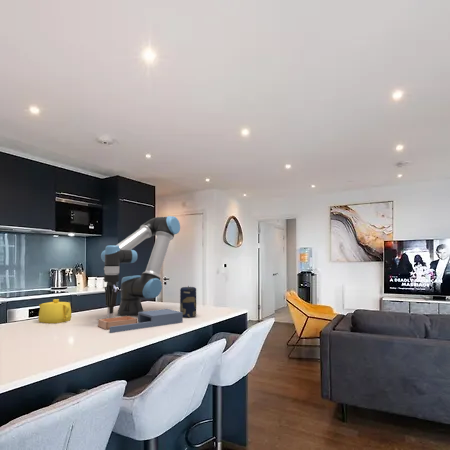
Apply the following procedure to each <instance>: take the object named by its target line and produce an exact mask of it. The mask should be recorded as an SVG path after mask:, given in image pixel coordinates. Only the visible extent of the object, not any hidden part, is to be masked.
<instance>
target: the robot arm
mask: <svg viewBox="0 0 450 450" xmlns="http://www.w3.org/2000/svg"><path fill="white" fill-rule="evenodd" d="M180 231H181V224H180V221H179V219H178V218H177V217H176V216H173V215H172V216H171V215H168V216H157V217H154V218H153V217H152V218H151V219H149V220H147V221H146V222H144V223H143V224H141V225H140V226H139V228H138V229H137V230H135V231H134V232H133V233H132V234H131V233H130V234H129V235H128V236H126V238H125V239H123V240H121V241H120V242H119V243H117V244H116V245H110V244H109V245H106V246H105V249H104V250H102V251H101V254H100V258H101V260H102V262H103V263H104V267H103V271H104V275H103V276H104V277H103V282H105V283H106V286H105V287H104V291H105V292H104V293H105V295H104V296H105V306H106V308H107V310H106V311H107V315H106V318H114V307H116V305H117V304H116V303H117V297H118V291H119V288H118V287H117V283H118V282H119V281H120V275H119V274H120V264H133V263H136V262H137V260H138V252H137V251H136V250H134V249H135V247H137V246H138V245H139V244H141V243H142V242H143V241H145V240H147V239H149V238H152V237H154V236H156V239H155V241H154V245H153V248H152V250H151V253H150V257H149V260H148V263H147V265H146V268H145V271H143V272H142V273H141V275H129V276H124V277H122V278H121V284H120V302H119V303H120V304H119V306H118V309H117V316H119V317H123V316H130V317H133V316H138V312H144V308H143V305H142V302H141V301H142V299H155V298H157V297H158V296H159V295H160V294H161V292H162V289H163V285H162V284H163V282H162V280H161V279H162V278H161V276H160V274H161V271H162V267H163V264H164V261H165V257H166V255H167V251H168V248H169V245H170V243H171V241H173V240H174V237H175V235H177V234H179V232H180ZM141 298H142V299H141Z"/></svg>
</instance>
